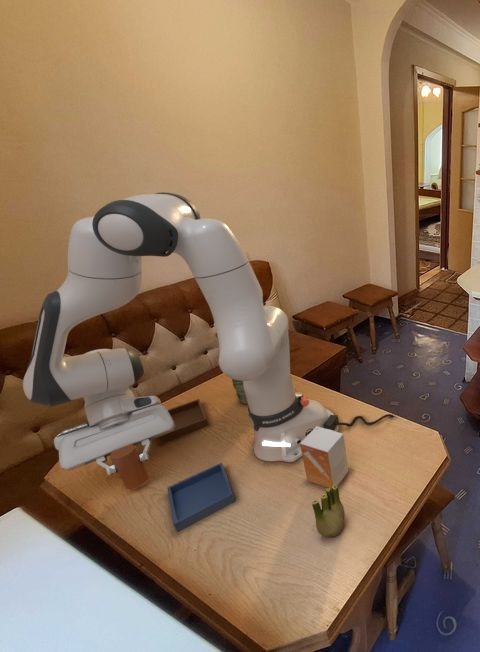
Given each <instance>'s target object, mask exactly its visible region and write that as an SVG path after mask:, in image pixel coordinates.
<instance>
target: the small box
mask: <svg viewBox="0 0 480 652" xmlns="http://www.w3.org/2000/svg"><path fill="white" fill-rule="evenodd" d="M300 446H301V451H302V456H301V457H302V461H303V465H304V470H305V474H306V481H307V482H309V483H313V484H316V485H319V486H321V487H324V488H326V489H327V488H331V487H332V486H334V485H338V486H339V485H340V483H341V482H342V481H343V479H344V478H345V477H346V475H347V474H348V472H349V470H350V469H349V463H348V457H347V456H348V455H347V451H346V450H347V449H346V444H345V436H344V433H341V432H339V431H338V432H335V431H332V430H329V429H325V428H321V427H318V426H317V427H316V428H315V429H314V430H313V431H312V432H311V433H310V434H309V435H308V436H307V437H306V438H305V439H304V440H303V441H302V442H301V443H300Z"/></svg>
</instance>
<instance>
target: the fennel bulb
mask: <svg viewBox="0 0 480 652" xmlns="http://www.w3.org/2000/svg"><path fill="white" fill-rule="evenodd" d="M320 503H321V505H320ZM311 506H312V508H313V512H314V517H315V527H316V530H317V533H318V535H320V536H322V537H325V538H326V537H329V538H333V537H336V536H338V535H339V534H340V533H342V531H343V530H344V528H345V521H346V514H345V512H346V511H345V508H344V505H343V503H342V500H341V498H340V491H339V484H338V485H334V486H332V487H331V488H327V487H326V488H325V492H324V493H322V494H321V497H320V502H319V500H318V499H317V498H314V499H313V500H312V502H311Z"/></svg>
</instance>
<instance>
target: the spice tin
mask: <svg viewBox="0 0 480 652" xmlns="http://www.w3.org/2000/svg"><path fill="white" fill-rule="evenodd" d="M139 455H140V454H139V451H138V450H137V448H136V446H134V445H133V444H129V445H127V446H124V447H122V448H119V449H116V450H114V451H113V452H112V453H111V454H110V456H109V458H110V461H111V462H112V465H114V466H115V468H116V470H117V475H118V476H119V477H120V480H121V482H122V483H123V485H124V487H125V488H126V490H134V489H138V488H140V487H141V486H143V485H144V484H146V483H147V482H148V480H149V479H150V475H149V473H148V471H147V469H146V467H145V464H144V462H141V461H140V458H139Z"/></svg>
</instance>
